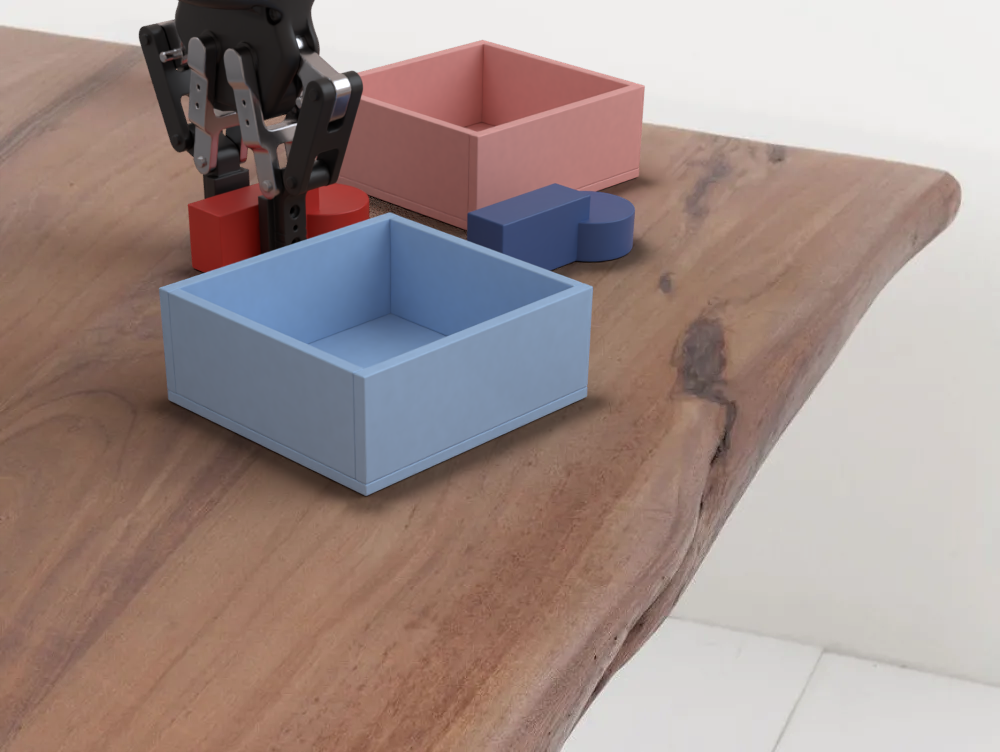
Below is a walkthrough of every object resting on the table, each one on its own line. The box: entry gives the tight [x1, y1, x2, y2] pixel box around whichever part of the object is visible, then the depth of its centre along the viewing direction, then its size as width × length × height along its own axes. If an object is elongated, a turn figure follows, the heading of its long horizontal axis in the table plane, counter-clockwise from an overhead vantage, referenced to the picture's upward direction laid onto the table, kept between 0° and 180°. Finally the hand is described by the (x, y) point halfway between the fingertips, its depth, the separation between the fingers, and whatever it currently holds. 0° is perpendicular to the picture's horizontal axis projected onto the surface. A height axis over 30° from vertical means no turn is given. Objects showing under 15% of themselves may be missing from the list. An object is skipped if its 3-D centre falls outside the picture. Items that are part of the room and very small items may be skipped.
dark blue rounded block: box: [466, 183, 636, 271], centre depth 94 cm, size 5×10×3 cm, turn 137°
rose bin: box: [315, 39, 646, 231], centre depth 103 cm, size 12×13×5 cm
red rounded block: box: [187, 182, 371, 273], centre depth 94 cm, size 5×10×3 cm, turn 137°
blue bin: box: [158, 211, 594, 497], centre depth 79 cm, size 12×13×5 cm
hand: (257, 254), depth 94 cm, fingers open, 3 cm apart
